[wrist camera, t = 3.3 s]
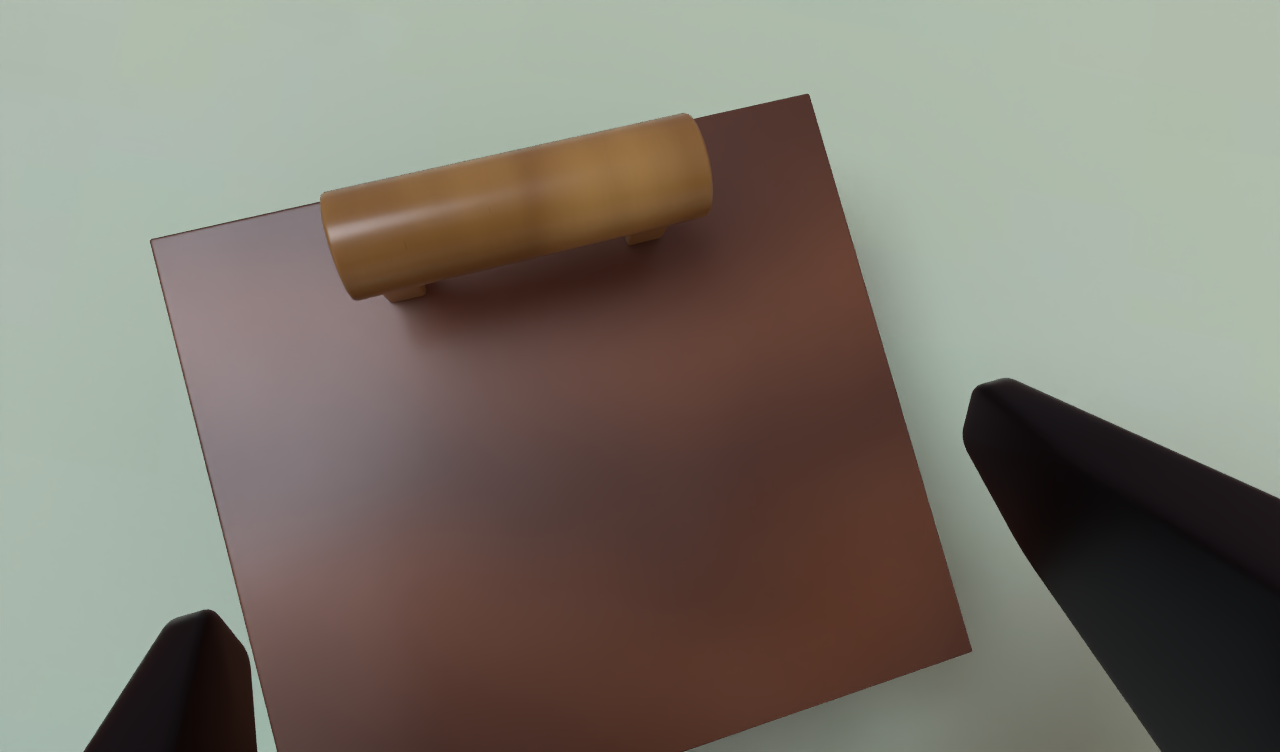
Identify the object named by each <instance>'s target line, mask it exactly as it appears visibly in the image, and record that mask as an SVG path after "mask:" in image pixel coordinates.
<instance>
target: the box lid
mask: <svg viewBox="0 0 1280 752" xmlns="http://www.w3.org/2000/svg"><path fill="white" fill-rule="evenodd" d="M150 244H151V248H152V252H153V256H154V260H155V264H156V268H157V272H158V276H159V280H160V284H161V288H162V292H163V296H164V300H165V304H166V308H167V312H168V316H169V320H170V324H171V328H172V332H173V336H174V340H175V344H176V348H177V352H178V356H179V360H180V364H181V368H182V372H183V376H184V380H185V384H186V388H187V392H188V396H189V400H190V404H191V408H192V412H193V416H194V420H195V424H196V428H197V432H198V436H199V440H200V444H201V448H202V452H203V456H204V460H205V464H206V468H207V472H208V476H209V480H210V484H211V488H212V492H213V496H214V500H215V504H216V508H217V512H218V516H219V520H220V524H221V528H222V532H223V536H224V540H225V544H226V548H227V552H228V556H229V560H230V564H231V568H232V572H233V576H234V580H235V584H236V588H237V592H238V596H239V600H240V604H241V608H242V612H243V616H244V620H245V624H246V628H247V632H248V636H249V640H250V644H251V648H252V652H253V656H254V660H255V664H256V668H257V672H258V676H259V680H260V684H261V688H262V692H263V696H264V700H265V704H266V708H267V712H268V716H269V720H270V724H271V728H272V732H273V736H274V740H275V744H276V749H277V752H684V751H686V750H689V749H692V748H695V747H698V746H701V745H704V744H707V743H710V742H712V741H715V740H718V739H721V738H724V737H727V736H730V735H733V734H736V733H738V732H741V731H744V730H747V729H750V728H753V727H756V726H759V725H762V724H764V723H767V722H770V721H773V720H776V719H779V718H782V717H785V716H788V715H790V714H793V713H796V712H799V711H802V710H805V709H808V708H811V707H814V706H816V705H819V704H822V703H825V702H828V701H831V700H834V699H837V698H840V697H842V696H845V695H848V694H851V693H854V692H857V691H860V690H863V689H866V688H868V687H871V686H874V685H877V684H880V683H883V682H886V681H889V680H892V679H894V678H897V677H900V676H903V675H906V674H909V673H912V672H915V671H918V670H920V669H923V668H926V667H929V666H932V665H935V664H938V663H941V662H944V661H946V660H949V659H952V658H955V657H958V656H961V655H964V654H967V653H970V652H971V651H972V648H971V645H970V641H969V638H968V634H967V631H966V628H965V624H964V621H963V617H962V614H961V611H960V607H959V604H958V600H957V597H956V594H955V590H954V587H953V583H952V580H951V577H950V573H949V570H948V566H947V563H946V559H945V556H944V553H943V549H942V546H941V542H940V539H939V536H938V532H937V529H936V525H935V522H934V519H933V515H932V512H931V508H930V505H929V502H928V498H927V495H926V491H925V488H924V484H923V481H922V478H921V474H920V471H919V467H918V464H917V461H916V457H915V454H914V450H913V447H912V444H911V440H910V437H909V433H908V430H907V427H906V423H905V420H904V416H903V413H902V409H901V406H900V403H899V399H898V396H897V392H896V389H895V386H894V382H893V379H892V375H891V372H890V369H889V365H888V362H887V358H886V355H885V352H884V348H883V345H882V341H881V338H880V334H879V331H878V328H877V324H876V321H875V317H874V314H873V311H872V307H871V304H870V300H869V297H868V294H867V290H866V287H865V283H864V280H863V276H862V273H861V270H860V266H859V263H858V259H857V256H856V253H855V249H854V246H853V242H852V239H851V236H850V232H849V229H848V225H847V222H846V219H845V215H844V212H843V208H842V205H841V201H840V198H839V195H838V191H837V188H836V184H835V181H834V178H833V174H832V171H831V167H830V164H829V161H828V157H827V154H826V150H825V147H824V144H823V140H822V137H821V133H820V130H819V126H818V123H817V120H816V116H815V113H814V109H813V106H812V103H811V99H810V96H809V94H804V95H799V96H795V97H790V98H786V99H781V100H777V101H772V102H768V103H763V104H759V105H754V106H750V107H745V108H741V109H736V110H732V111H727V112H723V113H718V114H713V115H709V116H704V117H700V118H695V119H693V118H692V117H691V116H690V115H689V114H685V113H681V114H677V115H672V116H668V117H663V118H658V119H654V120H649V121H645V122H640V123H636V124H631V125H627V126H622V127H618V128H613V129H608V130H604V131H599V132H595V133H590V134H586V135H581V136H577V137H572V138H568V139H563V140H559V141H554V142H549V143H545V144H540V145H536V146H531V147H527V148H522V149H518V150H513V151H509V152H504V153H500V154H495V155H490V156H486V157H481V158H477V159H472V160H468V161H463V162H459V163H454V164H450V165H445V166H440V167H436V168H431V169H427V170H422V171H418V172H413V173H409V174H404V175H400V176H395V177H391V178H386V179H381V180H377V181H372V182H368V183H363V184H359V185H354V186H350V187H345V188H341V189H336V190H331V191H327V192H324V193H323V194H321V197H320V202H317V203H312V204H308V205H303V206H299V207H294V208H290V209H285V210H281V211H276V212H272V213H267V214H263V215H258V216H254V217H249V218H245V219H240V220H236V221H231V222H227V223H222V224H218V225H213V226H209V227H204V228H200V229H195V230H191V231H186V232H182V233H177V234H173V235H168V236H164V237H159V238H154V239H151V240H150Z"/></svg>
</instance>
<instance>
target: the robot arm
mask: <svg viewBox="0 0 1280 752" xmlns="http://www.w3.org/2000/svg"><path fill="white" fill-rule="evenodd" d="M963 441H964V445H965V448H966V450H967V452H968V454H969V456H970V458H971V460H972V461H973V463H974V465H975V467H976V469H977V470H978V472H979V474H980V476H981V478H982V480H983V481H984V483H985V485H986V487H987V489H988V491H989V492H990V494H991V496H992V498H993V500H994V501H995V503H996V505H997V507H998V509H999V511H1000V512H1001V514H1002V516H1003V518H1004V520H1005V522H1006V523H1007V525H1008V527H1009V529H1010V531H1011V532H1012V534H1013V536H1014V538H1015V540H1016V541H1017V543H1018V545H1019V546H1020V548H1021V550H1022V551H1023V553H1024V555H1025V556H1026V558H1027V559H1028V561H1029V562H1030V564H1031V565H1032V567H1033V568H1034V570H1035V571H1036V572H1037V574H1038V575H1039V577H1040V578H1041V580H1042V581H1043V582H1044V584H1045V585H1046V587H1047V588H1048V590H1049V591H1050V593H1051V594H1052V595H1053V597H1054V598H1055V600H1056V601H1057V603H1058V604H1059V605H1060V607H1061V608H1062V610H1063V611H1064V613H1065V614H1066V615H1067V617H1068V618H1069V620H1070V621H1071V623H1072V624H1073V626H1074V627H1075V628H1076V630H1077V631H1078V633H1079V634H1080V636H1081V637H1082V638H1083V640H1084V641H1085V643H1086V644H1087V646H1088V647H1089V648H1090V650H1091V651H1092V653H1093V654H1094V656H1095V657H1096V659H1097V660H1098V661H1099V663H1100V664H1101V666H1102V667H1103V669H1104V670H1105V671H1106V673H1107V674H1108V676H1109V677H1110V679H1111V680H1112V681H1113V683H1114V684H1115V686H1116V687H1117V689H1118V690H1119V692H1120V693H1121V694H1122V696H1123V697H1124V699H1125V700H1126V702H1127V703H1128V704H1129V706H1130V707H1131V709H1132V710H1133V712H1134V713H1135V714H1136V716H1137V717H1138V719H1139V720H1140V722H1141V723H1142V725H1143V726H1144V727H1145V729H1146V730H1147V732H1148V733H1149V735H1150V736H1151V737H1152V739H1153V740H1154V742H1155V743H1156V745H1157V746H1158V747H1159V749H1160V750H1161V752H1280V499H1279V498H1277V497H1275V496H1272V495H1270V494H1268V493H1266V492H1264V491H1261V490H1259V489H1257V488H1255V487H1252V486H1250V485H1248V484H1246V483H1244V482H1241V481H1239V480H1237V479H1235V478H1232V477H1230V476H1228V475H1226V474H1223V473H1221V472H1219V471H1217V470H1215V469H1212V468H1210V467H1208V466H1206V465H1203V464H1201V463H1199V462H1197V461H1195V460H1192V459H1190V458H1188V457H1186V456H1183V455H1181V454H1179V453H1177V452H1174V451H1172V450H1170V449H1168V448H1166V447H1163V446H1161V445H1159V444H1157V443H1154V442H1152V441H1150V440H1148V439H1146V438H1143V437H1141V436H1139V435H1137V434H1134V433H1132V432H1130V431H1128V430H1125V429H1123V428H1121V427H1119V426H1117V425H1114V424H1112V423H1110V422H1108V421H1105V420H1103V419H1101V418H1099V417H1097V416H1094V415H1092V414H1090V413H1088V412H1085V411H1083V410H1081V409H1079V408H1076V407H1074V406H1072V405H1070V404H1068V403H1065V402H1063V401H1061V400H1059V399H1056V398H1054V397H1052V396H1050V395H1048V394H1045V393H1043V392H1041V391H1039V390H1036V389H1034V388H1032V387H1030V386H1027V385H1025V384H1023V383H1021V382H1019V381H1016V380H1014V379H1010V378H1002V379H998V380H994V381H991V382H987V383H984V384H980V385H978V386H977V387H976V388H975V389H974V390H973V392H972V395H971V399H970V403H969V407H968V411H967V415H966V419H965V423H964V427H963ZM84 752H257V743H256V730H255V717H254V704H253V691H252V678H251V667H250V661H249V657H248V654H247V652H246V650H245V648H244V646H243V645H242V644H241V642H240V641H239V640H238V639H237V637H236V636H235V635H234V634H233V632H232V631H231V630H230V629H229V627H228V626H227V625H226V624H225V623H224V621H223V620H222V619H221V618H220V616H219V615H218V614H217V613H216V612H214V611H212V610H209V609H208V610H202V611H198V612H195V613H191V614H188V615H184V616H181V617H178V618H175V619H173V620H171V621H170V622H169V623H168V624H167V625H166V626H165V627H164V628H163V629H162V631H161V633H160V634H159V636H158V637H157V639H156V640H155V642H154V643H153V645H152V646H151V648H150V650H149V651H148V653H147V654H146V656H145V657H144V659H143V660H142V662H141V664H140V665H139V667H138V668H137V670H136V671H135V673H134V674H133V676H132V677H131V679H130V681H129V682H128V684H127V685H126V687H125V688H124V690H123V691H122V693H121V695H120V696H119V698H118V699H117V701H116V702H115V704H114V705H113V707H112V708H111V710H110V712H109V713H108V715H107V716H106V718H105V719H104V721H103V722H102V724H101V725H100V727H99V729H98V730H97V732H96V733H95V735H94V736H93V738H92V739H91V741H90V743H89V744H88V746H87V747H86V749H85V750H84Z"/></svg>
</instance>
